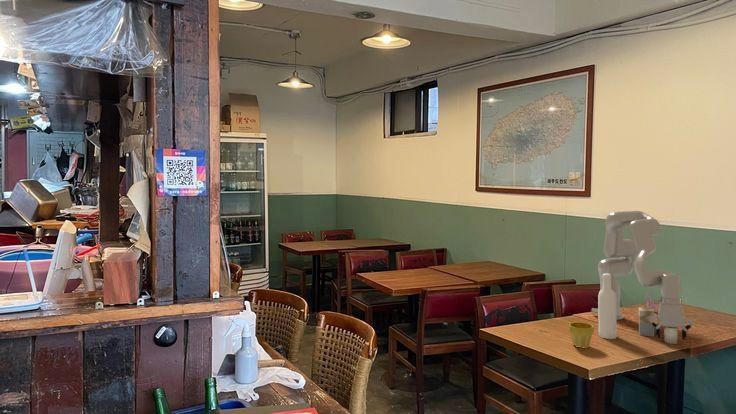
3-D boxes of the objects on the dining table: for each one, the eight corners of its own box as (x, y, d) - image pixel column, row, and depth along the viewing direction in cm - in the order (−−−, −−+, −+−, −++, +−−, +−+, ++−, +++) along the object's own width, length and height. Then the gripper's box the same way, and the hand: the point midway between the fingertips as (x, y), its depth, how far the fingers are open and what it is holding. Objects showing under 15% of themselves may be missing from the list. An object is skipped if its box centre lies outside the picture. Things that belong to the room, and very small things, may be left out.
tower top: (639, 322, 241) (639, 310, 240) (638, 319, 246) (638, 307, 246) (654, 323, 238) (654, 311, 238) (652, 320, 244) (652, 308, 243)
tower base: (639, 335, 241) (639, 322, 241) (638, 331, 246) (638, 319, 246) (654, 336, 238) (654, 323, 238) (653, 332, 244) (652, 320, 244)
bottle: (609, 340, 235) (608, 276, 233) (594, 336, 242) (593, 273, 240) (620, 337, 239) (619, 274, 237) (605, 333, 246) (605, 271, 244)
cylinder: (665, 343, 228) (664, 328, 228) (663, 339, 233) (663, 324, 233) (678, 344, 226) (678, 329, 226) (676, 340, 231) (676, 325, 231)
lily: (647, 316, 274) (657, 302, 272) (630, 304, 284) (639, 290, 281) (659, 319, 280) (669, 305, 278) (642, 307, 290) (651, 293, 287)
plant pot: (599, 348, 225) (598, 326, 225) (579, 351, 222) (579, 329, 222) (583, 341, 235) (582, 320, 234) (564, 344, 232) (563, 323, 232)
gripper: (649, 301, 229) (649, 338, 230) (694, 304, 222) (694, 342, 223) (648, 297, 236) (648, 333, 237) (691, 300, 228) (691, 337, 229)
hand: (670, 338), depth 230 cm, fingers open, 9 cm apart
